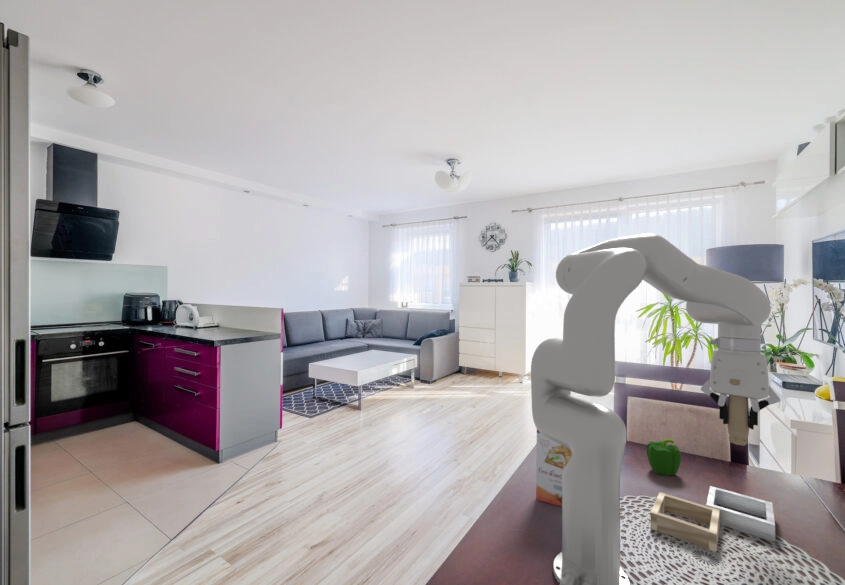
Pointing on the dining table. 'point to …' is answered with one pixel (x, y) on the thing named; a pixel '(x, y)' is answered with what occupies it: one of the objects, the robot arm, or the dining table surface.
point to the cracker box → (550, 469)
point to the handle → (738, 417)
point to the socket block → (740, 519)
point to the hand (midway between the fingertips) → (738, 424)
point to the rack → (683, 528)
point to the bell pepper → (664, 457)
